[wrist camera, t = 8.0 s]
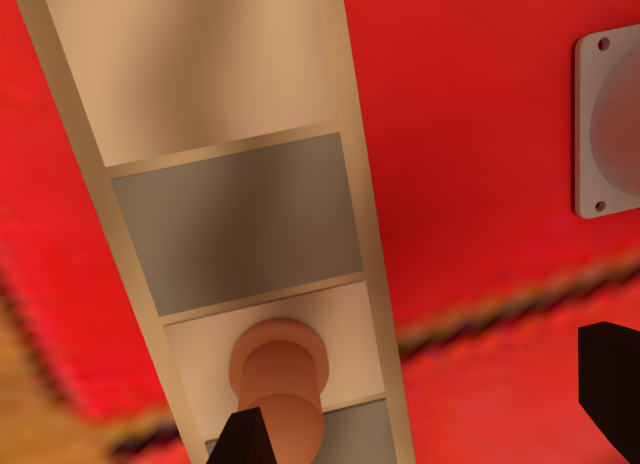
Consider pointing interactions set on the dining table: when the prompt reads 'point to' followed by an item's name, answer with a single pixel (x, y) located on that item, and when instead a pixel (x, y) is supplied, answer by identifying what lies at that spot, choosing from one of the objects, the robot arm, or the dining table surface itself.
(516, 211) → the dining table surface
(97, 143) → the board
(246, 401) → the pawn
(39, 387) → the dining table surface
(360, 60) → the dining table surface
